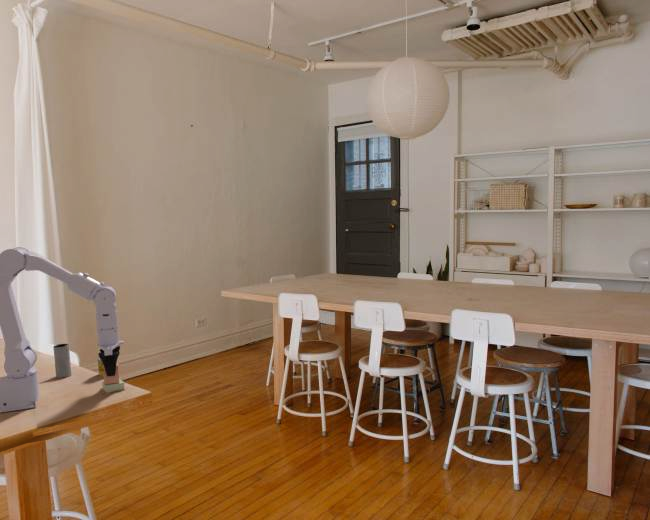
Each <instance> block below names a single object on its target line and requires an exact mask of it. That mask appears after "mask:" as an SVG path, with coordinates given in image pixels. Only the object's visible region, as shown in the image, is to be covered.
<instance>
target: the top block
mask: <svg viewBox="0 0 650 520" xmlns="http://www.w3.org/2000/svg"><path fill="white" fill-rule="evenodd" d="M101 384H102V385H101V388H103V390H104V391H105V392H106V393H108V394H110V393H109V392H113V391H118V390H123V389H125V382H124V381H123V380H122V379H121V378H120V379H119V383H111V384H104V381H101ZM123 391H124V390H123ZM118 392H119V391H118ZM113 393H114V392H113Z"/></svg>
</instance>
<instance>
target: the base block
mask: <svg viewBox="0 0 650 520" xmlns="http://www.w3.org/2000/svg"><path fill="white" fill-rule="evenodd" d="M100 391H101V393H102V395H106V394H112V393H113V394H114V393H117V392H118V393H119V392H122V391H126V388H124V389H123V390H118V391H113V392H109V393H106V392H105V391H104V390H103V388H102V387H100Z"/></svg>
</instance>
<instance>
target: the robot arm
mask: <svg viewBox="0 0 650 520" xmlns="http://www.w3.org/2000/svg"><path fill="white" fill-rule="evenodd" d="M22 271H25V272H29V271H38V272H42V273H43V274H46V275H47V276H50V277H52V278H54V279H56V280H58V281H60V282H63V283H65V284H66V285H67V288H68V290H69V291H70V292H72V293H74V294H76V295H78V296H81V297H82V298H85V299H86V300H87V301H93V304H94V306H95V307H96V308H95V310H96V313H95V318H96V333H97V348H98V349H100V352H101V353H99V352H98V356H99V358H100V359H101V360H102V362H103V365H104V368H105V371H106V375H107V377H109V376H115V373H116V363H117V362H118V358H119V356H120V353H121V352H120V349H121V345H124V343H125V341H124V340H120V331H119V320H118V319H119V317H118V310H117V307H118V306H117V304H116V300H117V292H116V290H115V289H114V287H112V286H111V285H109V284H107V285H106V284H105V282H103V281H101V282H99V281H98V280H96V279H94V278H92V277H90V274H89V273H87V272H84V273H82V272H80V271H79V272H77V273H73V272H71V271H69V270H67V269H66V268H65V267H62V266H61V265H59V264H58V263H55V262H53V261H52V260H49V259H48V258H47V257H44V256H42V255H40V254H38V253H37V252H34V251H31V250H28V249H26V248H25V247H22V246H21V247H20V246H19V247H18V246H17V247H13V248H8V249H6V250H3V251H1V252H0V331H1V334H2V338H3V341H4V353H3V354H4V357H5V359H4V363H3V369H4V371H5V373H6V376H5V375H4V376H0V413H6V412H7V413H8V412H13V411H19V410H20V411H21V410H26V409H27V410H28V409H34V408H37V407H36V406H37V405H36V402H37V401H39V399H40V392H39V390H40V389H39V381H38V371H37V368H35V366H34V365H35V364H36V362H37V360H38V355H37V352H36V351H35V350H34V349H33V348H32V346H31V344H30V341H29V340H28V339H27V337H26V335H25V332H24V327H23V324H22V321H21V317H20V312H19V309H18V305H17V301H16V297H15V294H14V291H13V290H14V289H13V287H12V283H13V281H14V280H15V279H16V277H17V276H19V275H18V274H20V273H21V272H22Z"/></svg>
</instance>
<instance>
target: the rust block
mask: <svg viewBox="0 0 650 520" xmlns="http://www.w3.org/2000/svg"><path fill="white" fill-rule="evenodd" d="M103 369H104V376H103V382H104V384H111V383H119V379H121V378H120V364H119V362H118V361H117V363H116V373H115V376H109V377H107V375H106V371H105V368H104V367H103Z"/></svg>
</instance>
